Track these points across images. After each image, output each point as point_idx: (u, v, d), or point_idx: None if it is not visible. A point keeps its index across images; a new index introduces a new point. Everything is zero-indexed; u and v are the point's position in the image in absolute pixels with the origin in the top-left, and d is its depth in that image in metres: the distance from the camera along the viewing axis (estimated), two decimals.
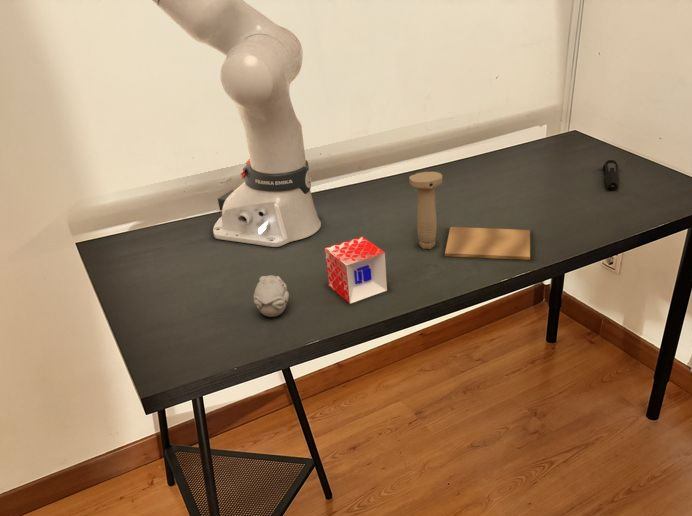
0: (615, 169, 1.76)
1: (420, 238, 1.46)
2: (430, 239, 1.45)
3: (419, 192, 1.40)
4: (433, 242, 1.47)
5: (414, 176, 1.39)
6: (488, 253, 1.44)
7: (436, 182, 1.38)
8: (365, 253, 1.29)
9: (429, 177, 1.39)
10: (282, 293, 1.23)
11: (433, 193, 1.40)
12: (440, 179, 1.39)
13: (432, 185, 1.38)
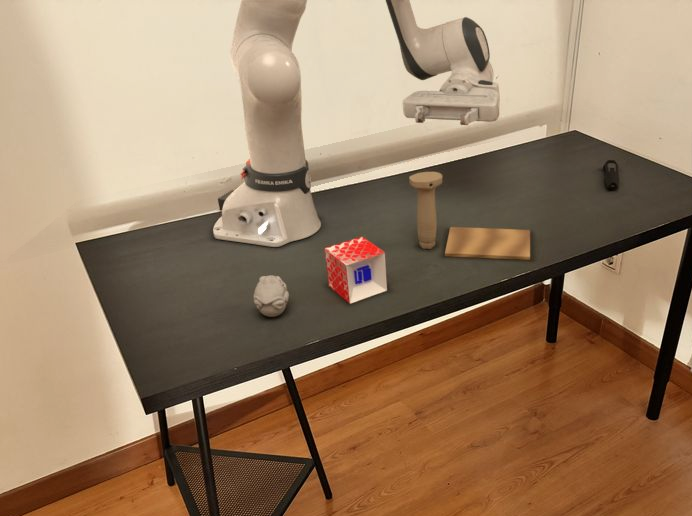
0: (615, 169, 1.76)
1: (420, 238, 1.46)
2: (430, 239, 1.45)
3: (419, 192, 1.40)
4: (433, 242, 1.47)
5: (414, 176, 1.39)
6: (488, 253, 1.44)
7: (436, 182, 1.38)
8: (365, 253, 1.29)
9: (429, 177, 1.39)
10: (282, 293, 1.23)
11: (433, 193, 1.40)
12: (440, 179, 1.39)
13: (432, 185, 1.38)
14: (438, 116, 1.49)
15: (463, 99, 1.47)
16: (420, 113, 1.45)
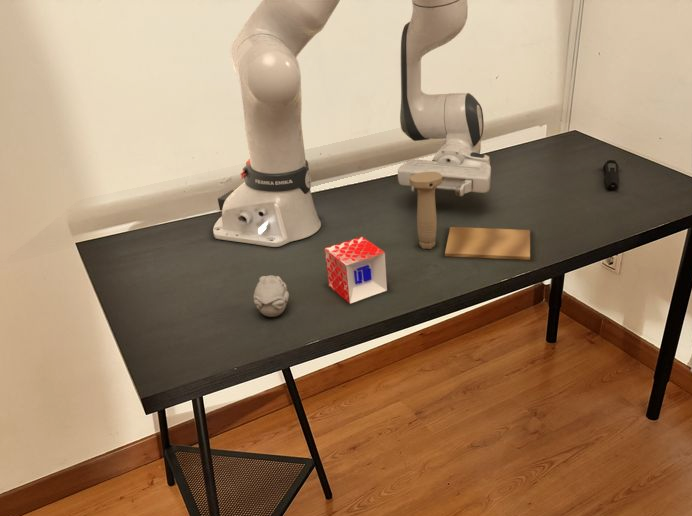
0: (615, 169, 1.76)
1: (420, 238, 1.46)
2: (430, 239, 1.45)
3: (419, 192, 1.40)
4: (433, 242, 1.47)
5: (414, 176, 1.39)
6: (488, 253, 1.44)
7: (436, 182, 1.38)
8: (365, 253, 1.29)
9: (429, 177, 1.39)
10: (282, 293, 1.23)
11: (433, 193, 1.40)
12: (440, 179, 1.39)
13: (432, 185, 1.38)
14: None
15: (457, 171, 1.54)
16: None
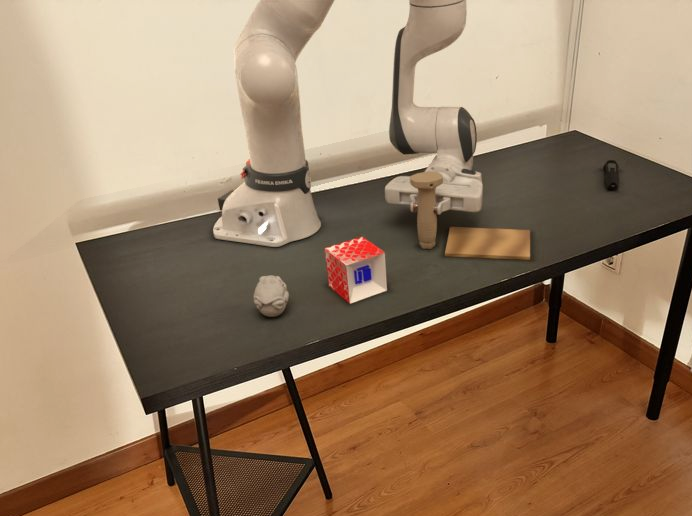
0: (615, 169, 1.76)
1: (420, 238, 1.46)
2: (430, 239, 1.45)
3: (419, 192, 1.40)
4: (433, 242, 1.47)
5: (415, 176, 1.39)
6: (488, 253, 1.44)
7: (437, 183, 1.38)
8: (365, 253, 1.29)
9: (430, 177, 1.39)
10: (282, 293, 1.23)
11: (433, 193, 1.40)
12: (441, 179, 1.39)
13: (433, 185, 1.38)
14: None
15: (447, 188, 1.46)
16: (415, 202, 1.43)
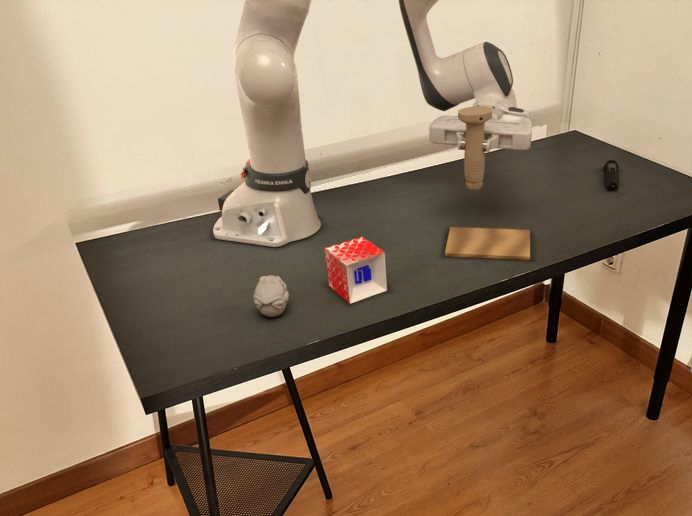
0: (615, 169, 1.76)
1: (467, 178, 1.39)
2: (478, 179, 1.38)
3: (468, 127, 1.33)
4: (480, 182, 1.40)
5: (463, 110, 1.33)
6: (488, 253, 1.44)
7: (486, 116, 1.31)
8: (365, 253, 1.29)
9: (479, 111, 1.32)
10: (282, 293, 1.23)
11: (482, 128, 1.34)
12: (490, 113, 1.32)
13: (482, 119, 1.31)
14: None
15: (494, 126, 1.39)
16: (463, 140, 1.36)
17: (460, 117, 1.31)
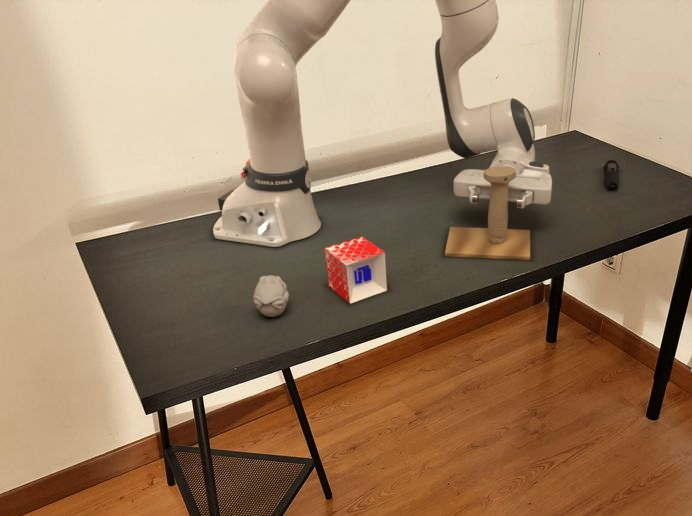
0: (616, 169, 1.76)
1: (491, 233, 1.46)
2: (501, 234, 1.45)
3: (493, 186, 1.40)
4: (503, 237, 1.47)
5: (488, 170, 1.40)
6: (488, 253, 1.44)
7: (511, 177, 1.39)
8: (365, 253, 1.29)
9: (504, 172, 1.39)
10: (282, 293, 1.23)
11: (506, 187, 1.41)
12: (514, 173, 1.39)
13: (507, 179, 1.38)
14: None
15: (516, 181, 1.46)
16: (475, 194, 1.43)
17: (486, 177, 1.39)
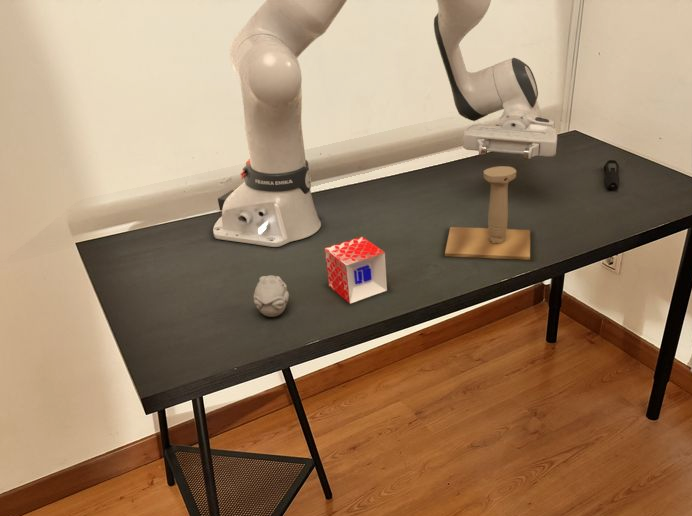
0: (616, 169, 1.76)
1: (491, 233, 1.46)
2: (501, 234, 1.45)
3: (493, 186, 1.40)
4: (503, 237, 1.47)
5: (488, 170, 1.40)
6: (488, 253, 1.44)
7: (511, 177, 1.39)
8: (365, 253, 1.29)
9: (504, 172, 1.39)
10: (282, 293, 1.23)
11: (506, 188, 1.41)
12: (514, 173, 1.39)
13: (507, 179, 1.38)
14: (498, 149, 1.54)
15: (523, 134, 1.53)
16: (484, 145, 1.50)
17: (486, 177, 1.39)
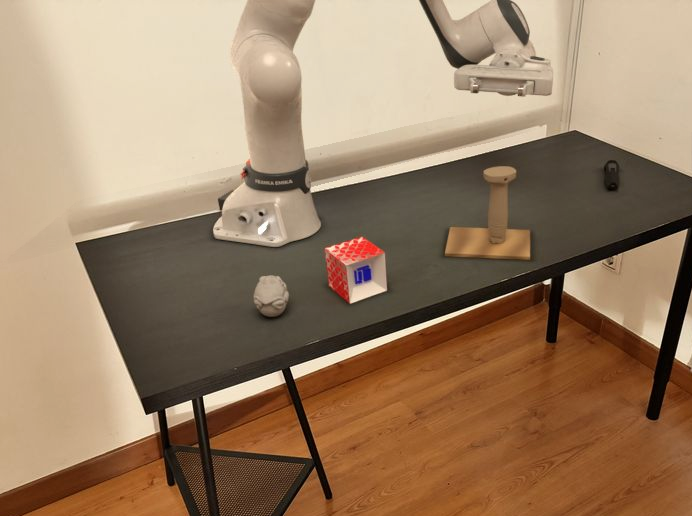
0: (616, 169, 1.76)
1: (491, 233, 1.46)
2: (501, 234, 1.45)
3: (493, 186, 1.40)
4: (503, 237, 1.47)
5: (488, 170, 1.40)
6: (488, 253, 1.44)
7: (511, 177, 1.39)
8: (365, 253, 1.29)
9: (504, 172, 1.39)
10: (282, 293, 1.23)
11: (506, 187, 1.41)
12: (514, 173, 1.39)
13: (506, 179, 1.38)
14: (491, 89, 1.47)
15: (517, 72, 1.45)
16: (475, 83, 1.42)
17: (486, 177, 1.39)
